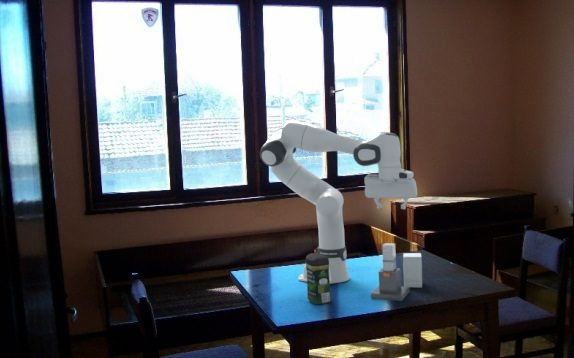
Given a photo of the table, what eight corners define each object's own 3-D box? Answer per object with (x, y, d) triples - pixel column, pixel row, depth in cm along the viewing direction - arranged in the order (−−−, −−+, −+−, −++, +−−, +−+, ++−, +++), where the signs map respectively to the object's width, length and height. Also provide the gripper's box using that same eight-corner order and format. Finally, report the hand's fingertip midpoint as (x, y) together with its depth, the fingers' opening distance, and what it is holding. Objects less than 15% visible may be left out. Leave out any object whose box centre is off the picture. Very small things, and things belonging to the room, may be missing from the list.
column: (383, 290, 232) (382, 245, 231) (386, 287, 236) (385, 243, 234) (394, 291, 231) (392, 245, 229) (396, 288, 234) (395, 243, 233)
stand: (371, 298, 231) (370, 273, 230) (380, 289, 242) (379, 265, 241) (401, 301, 226) (400, 275, 225) (409, 291, 236) (408, 267, 235)
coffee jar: (304, 299, 234) (302, 253, 232) (322, 296, 237) (320, 250, 235) (315, 306, 225) (312, 258, 223) (334, 303, 228) (331, 255, 226)
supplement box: (422, 287, 241) (421, 256, 240) (403, 287, 243) (402, 257, 242) (422, 282, 249) (421, 252, 247) (404, 282, 250) (403, 252, 249)
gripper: (361, 175, 234) (363, 210, 236) (413, 174, 226) (415, 210, 227) (366, 173, 240) (368, 207, 241) (417, 172, 232) (418, 207, 233)
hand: (391, 209), depth 234 cm, fingers open, 8 cm apart
